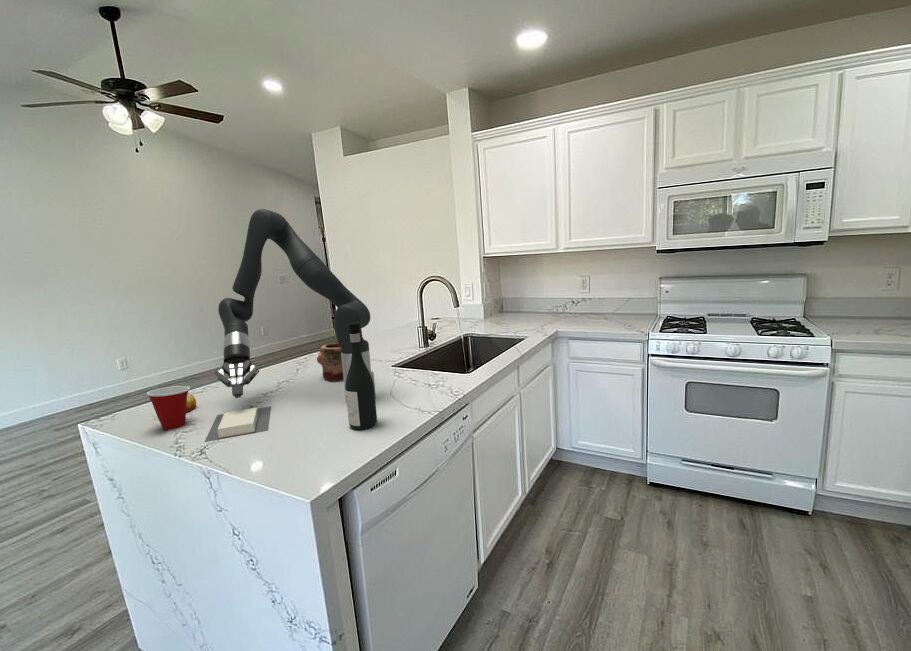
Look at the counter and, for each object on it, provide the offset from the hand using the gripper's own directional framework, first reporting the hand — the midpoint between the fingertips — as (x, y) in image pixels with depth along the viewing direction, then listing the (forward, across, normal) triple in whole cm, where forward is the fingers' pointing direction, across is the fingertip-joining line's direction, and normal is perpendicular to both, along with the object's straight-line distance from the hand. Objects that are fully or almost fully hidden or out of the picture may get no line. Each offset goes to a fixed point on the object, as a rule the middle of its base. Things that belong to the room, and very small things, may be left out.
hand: (237, 396), depth 128 cm
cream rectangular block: (+3, 0, +6) cm, 7 cm away
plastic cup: (+1, -19, +11) cm, 22 cm away
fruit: (-9, -21, +22) cm, 32 cm away
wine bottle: (+20, +34, -8) cm, 40 cm away
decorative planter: (-18, +33, +30) cm, 48 cm away
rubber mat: (+6, 0, +5) cm, 8 cm away
